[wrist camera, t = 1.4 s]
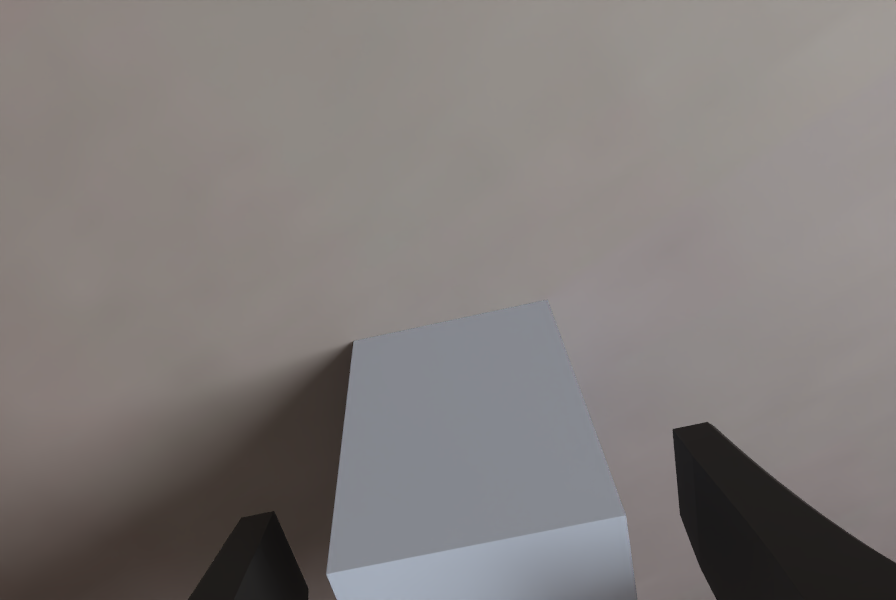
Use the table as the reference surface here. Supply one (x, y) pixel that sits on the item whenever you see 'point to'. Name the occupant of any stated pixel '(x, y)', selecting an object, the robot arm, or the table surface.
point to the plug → (474, 470)
